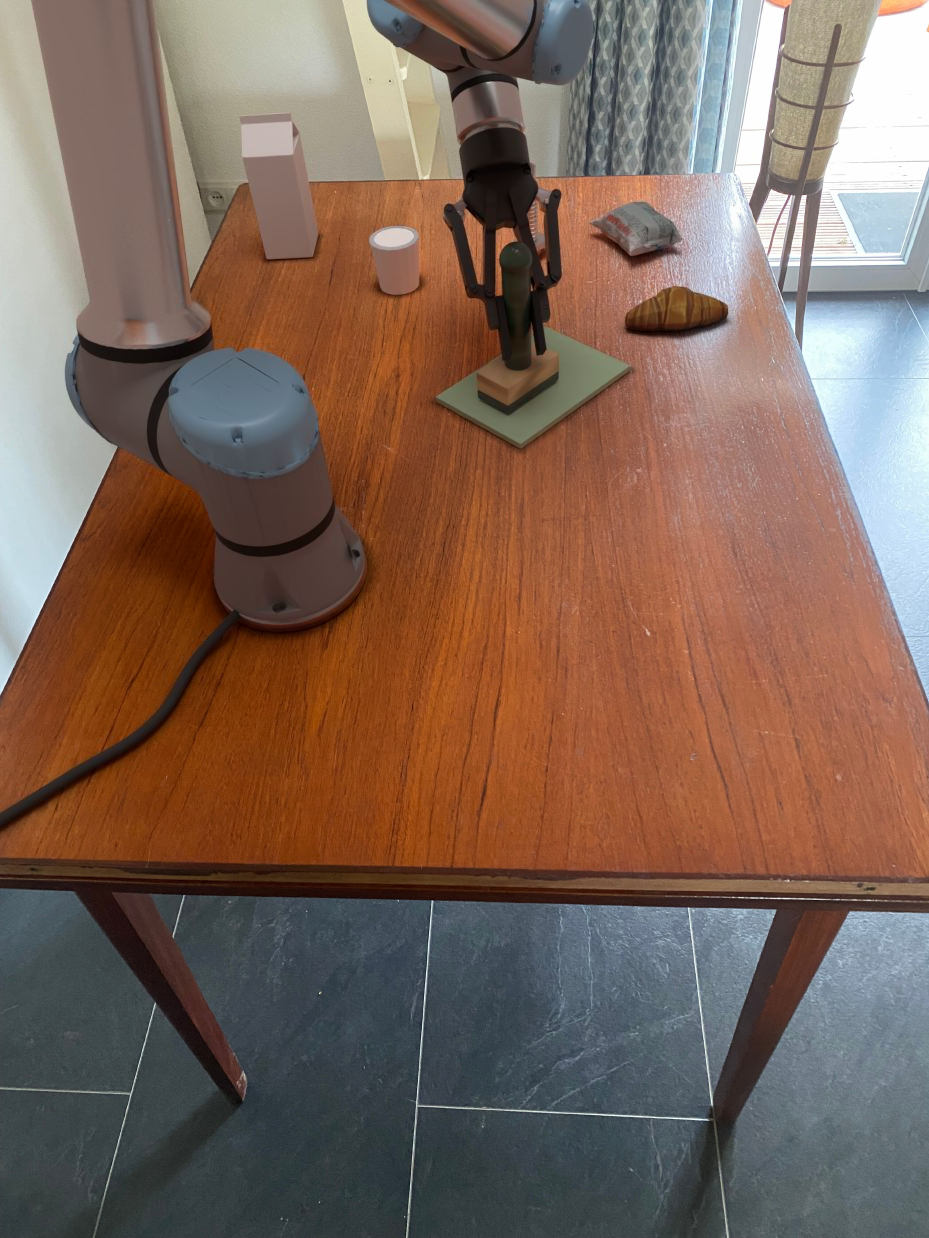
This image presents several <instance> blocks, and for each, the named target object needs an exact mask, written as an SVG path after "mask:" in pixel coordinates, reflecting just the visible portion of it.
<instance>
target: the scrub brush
mask: <svg viewBox="0 0 929 1238" xmlns="http://www.w3.org/2000/svg"><path fill="white" fill-rule="evenodd" d="M532 262H533V256H532V252H531V250H530V249H529V247H528V246H527V245H526V244H524V243H522V242H517V241H515V240H514V241H510V242H508V243H507V244H505V246H503V247H502V249H501V250H500V253H499V257H498V263H499V267H500V277H501V295H503V299H504V306H505V312H506V319H507V325H508V332H509V338H510V345H511V352H512V355H511V357H510V359H509V360H505V361H503V360H502V356H501V357H499V358H498V359H496V360H495V361H493V362H492V363H490V364H489V365H487V366H486V367H484V368H482V369H481V370H479V371H478V372H477V373H476V374H477V389H478V398H479V399H481V400H483V401H485V402H487V403H489V404H490V405H492V406H494V407H496V408H498V409H500V410H502V411H503V412H505V413H507V414H509V413H511V412H512V411H514V410H515V409H516V408H518V407H519V406H521V405H522V404H524V403H525V402H527V401H528V400H529V399H531V398H532V397H534V396H535V395H537V394H538V393H540V392H541V391H542V390H544V389H545V388H547V387H548V386H550V385H551V384H553V383H554V382H555V381H557V380H558V379H559V353H556V352H554V351H552V350H550V349H548V348H547V350H546V351H545V353H544V354H543V355H539V356H536V349H535V343H534V342H533V341H531V335H532V323H531V291H532V285H531V266H532Z"/></svg>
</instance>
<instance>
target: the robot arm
mask: <svg viewBox="0 0 929 1238" xmlns="http://www.w3.org/2000/svg"><path fill="white" fill-rule="evenodd" d="M30 3H31V7H32V12H33V19H34V23H35V28H36V32H37V38H38V42H39V48H40V54H41V59H42V63H43V69H44V74H45V79H46V84H47V89H48V94H49V100H50V104H51V110H52V115H53V119H54V125H55V129H56V135H57V140H58V147H59V151H60V155H61V161H62V165H63V166H62V167H63V171H64V176H65V181H66V186H67V191H68V196H69V201H70V206H71V211H72V216H73V222H74V227H75V232H76V233H75V234H76V237H77V238H76V239H77V242H78V248H79V253H80V257H81V258H80V259H81V263H82V269H83V273H84V278H85V284H86V288H87V289H86V290H87V293H88V298H89V300H88V301H89V302H88V304H86V306H85V307H83V309H82V310H81V311H80V313H79V314H78V315H77V317H76V320H75V325H76V326H75V328H76V331H77V334H76V336H75V337H74V339H73V340H72V344H73V348H72V350H71V352H68V353H67V355H66V358H65V363H64V382H65V387H66V388H65V389H66V391H67V396H68V398H69V401H70V403H71V405H72V407H73V409H74V410H75V412H76V414H77V415H78V416H79V417H80V419H81V420H82V422H84V423H85V424H86V425H87V426H88V427H90V428H91V429H92V430H93V431H95V433H97V434H98V435H99V436H100V437H101V438H102V439H104V440H105V441H106V442H108V443H109V444H112V445H114V446H116V447H118V448H119V449H121V450H124V451H126V452H128V453H129V454H132V455H133V456H135V457H136V458H138V459H140V460H141V461H144V462H145V463H147V464H149V465H150V466H153V467H155V468H156V469H158V470H160V471H161V472H163V473H165V474H167V475H169V476H171V477H172V478H174V479H176V480H178V481H179V482H181V483H182V484H184V485H186V486H188V487H189V488H190V489H193V490H194V491H195V492H196V493H197V494H198V495H199V496H200V498H201V500H202V502H203V504H204V507H205V510H206V512H207V515H208V518H209V521H210V523H211V526H212V528H213V531H214V534H215V544H214V564H213V565H214V566H213V582H214V587H215V590H216V593H217V595H218V598H219V600H220V603H221V605H222V606H223V608H224V609H225V611H226V613H228V615H227V616H226V617H225V618H224V619H223V620H222V621H221V623H220V624H218V626H216V628H215V629H214V630H213V631H212V632H211V633H210V634H209V635H208V636H207V637H206V638H205V640H203V642H202V643H201V644H200V645H199V646H198V647H197V648H196V649H195V651H194V652H193V653H192V655H191V656H190V657H189V659H188V661H187V662H186V664H184V667H183V668H182V669H181V671H180V673H179V675H178V676H177V679H176V681H175V683H174V684H173V685H172V687H171V689H170V691H169V693H168V695H167V696H166V698H165V699H164V701H163V702H162V703H161V705H160V706H159V708H158V709H156V711H155V712H154V713H153V714H152V715H151V716H150V717H149V718H148V719H147V720H146V721H145V722H144V723H143V724H142V725H140V726H139V727H138V728H137V729H136V730H134V731H133V732H132V733H130V734H129V735H127V736H126V737H124V738H123V739H121V740H120V741H118V742H116V743H115V744H113V745H111V746H110V747H108V748H106V749H104V750H103V751H100V752H99V753H97V754H95V755H92V756H91V757H90V758H88V759H86V760H84V761H82V762H80V763H79V764H78V765H76V766H74V767H72V768H71V769H69V770H67V771H66V772H64V773H62V774H60V775H59V776H57V777H56V778H55V779H52V780H51V781H50V782H48V783H46V784H45V785H44V786H43V785H42V786H41V787H40V788H38V789H37V790H35V791H34V792H32V793H30V794H28V795H27V796H25V797H24V798H22V799H21V800H19V801H17V802H15V803H14V804H12V805H10V806H9V807H8V808H6V809H4V810H3V811H1V812H0V827H2V826H4V825H5V824H7V823H9V822H10V821H12V820H14V819H15V818H16V817H18V816H19V815H21V814H23V813H25V812H26V811H27V810H30V809H31V808H32V807H34V806H36V805H38V804H40V802H42V801H44V800H45V799H47V798H49V797H50V796H52V795H53V794H55V793H57V792H59V791H60V790H62V789H63V788H65V787H66V786H68V785H69V784H71V783H72V782H74V781H76V780H77V779H79V778H81V777H83V776H84V775H86V774H88V773H89V772H91V771H93V770H94V769H96V768H99V767H100V766H102V765H103V764H105V763H107V762H109V761H111V760H113V759H114V758H116V757H118V756H119V755H121V754H123V753H124V752H126V751H128V750H129V749H131V748H132V747H134V746H135V745H137V744H138V743H139V742H141V741H142V740H144V738H146V737H147V736H148V735H149V734H150V733H152V732H153V731H154V730H156V728H157V727H158V726H159V725H161V723H162V722H163V721H164V720H165V719H166V718H167V716H168V715H169V714H170V713H171V712H172V710H173V709H174V708H175V706H176V705H177V703H178V701H179V700H180V698H181V696H182V694H183V692H184V691H185V689H186V687H187V685H188V683H189V681H190V679H191V678H192V676H193V674H194V672H195V671H196V669H197V668H198V666H199V665H200V663H201V662H202V661H203V659H204V658H205V657H206V656H207V654H208V653H209V652H210V651H211V650H212V649H213V647H215V646H216V644H217V643H218V642H219V641H221V639H222V638H223V637H224V636H225V635H226V633H228V631H229V630H230V629H231V628H232V627H233V626H234V625H235V624H236V623H237V622H238V623H240V624H242V625H245V626H246V627H249V628H251V629H254V630H259V631H264V632H273V633H285V632H287V633H288V632H295V631H301V630H305V629H309V628H312V627H315V626H318V625H320V624H322V623H325V622H326V621H329V620H330V619H332V618H334V617H336V616H338V615H339V614H341V612H343V611H344V610H345V609H346V608H347V607H348V606H350V605H351V604H352V603H353V601H354V600H355V599H356V598H357V596H358V595H359V593H360V592H361V590H362V589H363V587H364V584H365V582H366V580H367V579H366V578H367V573H368V561H367V557H366V552H365V551H366V550H365V547H364V544H363V541H362V539H361V537H360V536H359V534H358V532H357V531H356V529H355V528H354V527H353V526H352V524H351V523H350V521H349V520H348V518H347V516H345V515H344V513H343V512H342V510H341V509H340V507H339V506H338V504H337V503H336V501H335V496H334V492H333V488H332V483H331V478H330V474H329V469H328V463H327V459H326V454H325V449H324V445H323V440H322V435H321V430H320V426H319V416H318V412H317V408H316V407H315V404H314V401H313V399H312V397H311V394H310V391H309V389H308V387H307V384H306V382H305V379H304V378H303V377H302V375H301V373H299V371H298V370H297V369H296V368H295V367H294V366H293V365H292V364H291V363H290V362H288V361H287V360H285V359H283V358H282V357H280V356H278V355H276V354H274V353H271V352H269V351H266V350H263V349H258V348H252V347H244V349H242V350H241V351H236V349H235V348H234V347H225V348H217V349H215V342H214V341H215V340H214V331H213V325H212V324H213V323H212V316H211V314H210V312H209V310H208V309H207V308H205V307H204V306H203V304H201V303H199V302H198V301H197V300H196V299H195V298H193V297H192V292H191V285H190V284H191V283H190V278H189V277H190V275H189V267H188V259H187V252H186V251H187V250H186V244H185V243H186V242H185V235H184V228H183V219H182V211H181V203H180V195H179V187H178V179H177V169H176V163H175V156H174V148H173V139H172V131H171V124H170V123H171V122H170V116H169V107H168V100H167V99H168V98H167V90H166V83H165V75H164V67H163V60H162V59H163V58H162V51H161V43H160V35H159V34H160V33H159V27H158V19H157V10H156V3H155V0H30ZM366 11H367V15H368V18H369V21H370V23H371V25H372V27H373V28H374V29H375V30H376V32H377V33H378V34H380V35H381V36H382V37H384V38H385V40H386V39H387V41H389V42H390V44H392V45H393V46H394V47H395V48H400V49H402V50H403V51H405V52H407V53H409V54H411V55H412V56H414V57H416V58H418V59H419V60H421V61H423V62H425V63H426V64H427V65H430V66H432V67H433V68H434V69H436V70H438V71H440V72H441V73H443V74H445V75H446V77H447V83H448V88H449V95H450V99H451V100H450V101H451V106H452V107H451V108H452V113H453V119H454V127H455V134H456V141H457V144H458V145H459V148H458V155H459V160H460V167H461V172H462V173H461V174H462V181H463V190H462V194H461V198H460V199H458V200H457V201H455V202H453V203H446V204H445V205H444V206H443V213H442V219H443V223H445V225H446V227H447V228H448V229H449V231H450V233H451V236H452V240H453V244H454V248H455V253H456V256H457V260H458V266H459V269H460V275H461V278H462V283H463V287H464V291H465V295H466V297H467V298H468V299H470V300H472V299H473V300H474V299H476V300H480V301H481V302H482V303H483V305H484V311H485V318H486V324H487V327H488V330H489V331H496V330H497V335H498V340H499V347H500V353H501V354H502V360H503V361H505V360H509V359H510V357H511V355H512V352H511V345H510V338H509V332H508V325H507V319H506V312H505V306H504V299H503V295H502V294H500V295H497V294H496V291H497V290H496V287H497V286H496V285H497V284H496V283H497V282H496V281H497V280H496V278H497V276H496V274H497V270H496V269H497V266H496V265H497V261H496V260H497V231H499V230H502V229H503V228H505V229H512V231H513V235H514V237H515V239H516V238H517V241H518V242H522V243H524V244H526V245H527V246H528V247H529V249H530V250H531V252H532V256H533V262H532V266H531V330H532V334H533V336H534V343H535V349H536V356H539V355H543V354H544V353H545V351H546V350H547V348H546V341H545V334H544V328H543V327H544V323H545V324H546V323H548V322H549V321H550V319H551V315H552V314H551V306H550V299H549V290H550V289H552V288H556V287H557V286H558V285H559V283H560V281H561V280H562V277H563V268H562V253H561V243H560V227H559V212H558V211H559V207H560V203H561V199H562V196H563V195H562V194H563V193H562V191H561V190H560V188H559V189H558V188H554V189H552V190H548V189H544V188H542V187H539V183H538V181H537V179H536V180H535V179H534V178H533V175H532V172H531V166H530V163H531V161H530V153H529V146H528V140H527V135H526V134H525V133H524V132H525V129H526V126H525V120H524V114H523V107H522V99H521V94H520V88H519V82H518V79H522V80H526V81H530V82H534V84H535V85H541V84H546V85H553V86H560V87H561V86H565V85H569V84H570V83H572V82H573V81H574V80H576V78H578V76H579V75H580V73H582V71H583V69H584V67H585V66H586V63H587V60H588V57H589V53H590V50H591V46H592V44H593V43H592V42H593V39H594V17H593V15H594V14H593V11H592V8H591V6H590V3H589V0H366ZM536 181H537V182H536ZM534 200H537V203H538V209H539V211H540V212H542V213H544V214H543V234H544V237H545V247H544V248H545V249H544V250H545V261H546V263H545V265H546V275H545V272H544V268H543V265H542V262H541V259H540V255H538V252H537V249H536V246H535V243H534V239H533V236H532V233H531V230H530V226H529V220H528V217H527V214H528V212H529V210H530V208H531V206H532V204H533V202H534ZM466 210H467V211H468V213H470V215H471V216H472V217H473V218H474V219H475V220H476V222H478V223H479V224H480V225H481V226H482V284H481V283H479V281H478V278H477V274H476V270H475V264H474V260H473V255H472V252H471V247H470V243H469V240H468V235H467V230H466V227H465V223H464V222H465V221H466V212H465V211H466ZM501 354H500V355H501Z"/></svg>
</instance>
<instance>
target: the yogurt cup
mask: <svg viewBox="0 0 929 1238" xmlns="http://www.w3.org/2000/svg"><path fill="white" fill-rule="evenodd" d="M419 237H420V235H419V232H418V231H417V230H416V229H415V228H412V227H410V226H403V225H390V226H386V227H382V228H380V229H378V230H376V231H374V232H372V234H371V235H370V236H369V240H368V243H369V247H370V251H371V255H372V260H373V263H374V267H375V272H376V277H377V281H378V284H379V288H380V289H381V291H382V292H383V293H385V294H387V295H393V296H398V295H399V296H401V295H407V294H410V293H412V292H413V291H416V289H417V288H418V287H419V286H420V251H419V250H420V247H419V246H420V242H419V241H420V240H419V239H420V238H419Z"/></svg>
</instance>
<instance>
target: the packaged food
mask: <svg viewBox="0 0 929 1238" xmlns="http://www.w3.org/2000/svg"><path fill="white" fill-rule="evenodd" d="M589 225H591V226H593V227H594V228H597V229H598V230H599V231H600V232H601V234H603V235H604V236H605V237H607V238H608V239H610V240H611V241H612V242H615V243H616V244H617V245H619V247H620V248H621V249H622V250H624V251H625V252H626V253H627V254H628V255H629V256H631V257H635V256H638V255H642V254H646V253H650V252H653V251H658V250H662V249H667V248H669V247H672V246H674V245H675V244H677V243H681V242H682V241H683V237H682V236H681V233H680V232H679V230H678V228H677V226H676V224H675V222H674V221H672V220H671V219H669V218H668V217H666V216H664V215H663V214H662V213H660V212H659V211H657V209H655V208H654V207H653V206H652V205H651V204H650V203H649V202H648V201H633V202H629V203H627V204H624V205H620V206H618V207H616V208H615V209H612V210H610V211H609V212H607V213H605V214H604V215H603V216H602V217H600V216H599V217H598V218H596V219H592V220H590V221H589Z"/></svg>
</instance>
